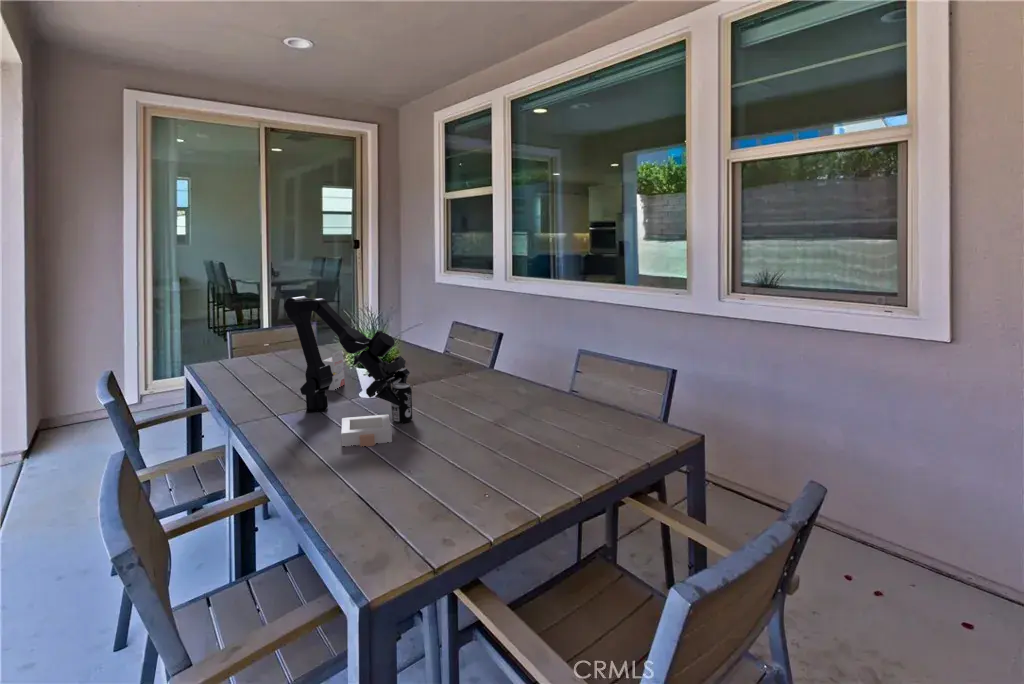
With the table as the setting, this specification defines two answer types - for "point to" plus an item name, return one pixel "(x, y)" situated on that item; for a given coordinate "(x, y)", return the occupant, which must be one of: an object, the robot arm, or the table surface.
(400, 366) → the robot arm
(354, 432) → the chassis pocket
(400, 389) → the beverage can
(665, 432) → the table surface
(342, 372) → the ink cartridge box
